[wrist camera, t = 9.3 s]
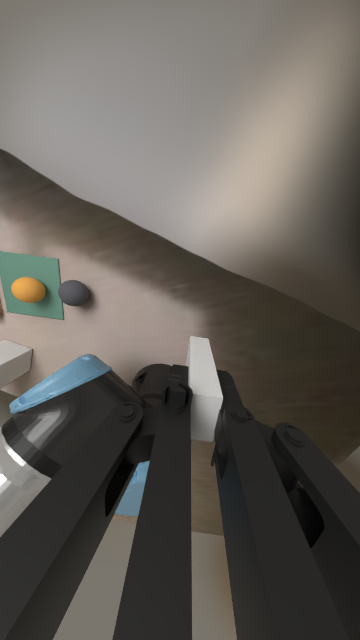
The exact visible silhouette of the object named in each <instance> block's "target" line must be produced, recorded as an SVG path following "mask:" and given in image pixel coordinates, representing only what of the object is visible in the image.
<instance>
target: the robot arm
mask: <svg viewBox="0 0 360 640" xmlns="http://www.w3.org/2000/svg"><path fill="white" fill-rule="evenodd" d="M9 407H10V409H11V411H10V412H11V413H13V414H15V415H14V416H13V417H12V418H11V419H9V420H8V421H7V422H6V423H5V424H3V425H2V426H1V427H0V640H52V639H53V638H54V636H55V634H56V632H57V629H58V627H59V625H60V623H61V621H62V619H63V617H64V615H65V613H66V611H67V609H68V607H69V605H70V603H71V601H72V599H73V597H74V595H75V593H76V591H77V589H78V586H79V585H80V583H81V581H82V579H83V576H84V574H85V572H86V570H87V568H88V566H89V564H90V562H91V560H92V558H93V556H94V554H95V552H96V550H97V548H98V546H99V544H100V542H101V540H102V538H103V536H104V534H105V531H106V530H107V528H108V525H109V523H110V521H111V519H112V517H113V515H114V513H115V514H119V515H126V516H138V520H137V524H136V530H135V534H134V539H133V544H132V549H131V554H130V558H129V563H128V568H127V573H126V577H125V582H124V587H123V592H122V597H121V602H120V606H119V611H118V616H117V621H116V626H115V630H114V635H113V640H192V585H191V584H192V574H191V439H194V440H201V441H208V442H213V438H214V435H215V442H216V445H215V449H214V453H213V456H212V460H211V466H214V462H215V466H216V474H217V482H218V490H219V498H220V506H221V514H222V522H223V530H224V538H225V546H226V554H227V562H228V570H229V578H230V586H231V594H232V602H233V610H234V617H235V626H236V633H237V640H360V493H359V492H358V491H357V490H356V489H355V488H354V486H352V484H351V483H350V482H349V481H348V480H347V479H346V478H345V477H344V476H343V474H342V473H341V472H340V471H339V470H338V469H337V468H336V467H335V466H334V465H333V463H332V462H331V461H330V460H329V459H328V458H327V457H326V456H325V455H324V454H323V453H322V451H321V450H320V449H319V448H318V447H317V446H316V445H315V444H314V443H313V442H312V441H311V439H310V438H309V437H308V436H307V435H306V434H305V433H304V432H302V431H301V430H300V429H298V428H297V427H295V426H293V425H291V424H288V423H282V422H281V423H278V424H277V425H276V427H275V429H274V428H272V427H270V426H267V425H265V424H262V423H260V422H258V421H256V420H255V418H254V416H253V415H252V413H251V412H250V411H249V410H248V409H247V408H245V407H244V406H243V404H242V401H241V399H240V396H239V393H238V391H237V389H236V386H235V384H234V380H233V378H232V376H231V375H230V374H229V373H228V372H227V371H222V370H216V368H215V364H214V360H213V356H212V352H211V348H210V344H209V340H208V338H200V337H193V336H190V340H189V347H188V353H187V360H186V366H181V365H173V366H169V365H165V364H153V365H149V366H147V367H145V368H143V369H142V370H140V371H139V372H138V374H137V375H136V377H135V379H134V381H133V383H132V387H130V386H129V385H128V384H126V383H125V382H124V381H123V380H122V379H121V378H120V377H119V376H118V375H117V374H116V373H115V372H114V371H113V370H112V367H109V366H107V365H106V364H105V363H104V362H103V361H101V360H100V359H99V358H98V357H97V356H95V355H91V354H87V355H83V356H81V357H79V358H77V359H76V360H74V361H72V362H71V363H69V364H67V365H66V366H64V367H63V368H61V369H60V370H58V371H56V372H55V373H53V374H52V375H50V376H49V377H47V378H46V379H44V380H43V381H41V382H40V383H38V384H37V385H35V386H34V387H32V388H31V389H30V390H28V391H27V392H26V393H24V394H23V395H22V396H20V397H19V398H17V399H16V400H14V401H13V402H12V403H11V404H10V405H9ZM298 480H299V482H300V483H301V485H302V486H303V488H302V487H301V485H300V484H299V483H298Z"/></svg>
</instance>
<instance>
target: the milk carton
mask: <svg viewBox="0 0 360 640" xmlns="http://www.w3.org/2000/svg"><path fill="white" fill-rule="evenodd" d="M31 357H32V349H31V348H28V347H25V346H23V345H20V344H17V343H14V342H11V341H9V340H3V341H1V342H0V389H1V388H2V387H4V386H6V385H7V384H9V383H10V382H12V381H13V380H15V379H17V378H18V377H20V376H21V375H23V374H25V373H26V372H28V371H29V370H30V366H31Z"/></svg>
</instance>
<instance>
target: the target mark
mask: <svg viewBox="0 0 360 640" xmlns="http://www.w3.org/2000/svg"><path fill="white" fill-rule="evenodd" d="M0 277H1V282H2V287H3V292H4V297H5V302H6V307H7V312H12V313H19V314H26V315H33V316H41V317H48V318H55V319H62V320H64V314H63V303H62V300H61V299H60V297H59V295H58V289H59V287H60V285H61V282H60V271H59V261H58V259H55V258H47V257H40V256H32V255H25V254H17V253H9V252H2V251H0ZM22 277H31V278H34V279H37V280H39V281H40V282H41V283H42V284H43V285H44V287H45V290H46V293H45V296H44V298H43V299H41V300H40V301H38V302H35V303H26V302H23V301H20V300H18V299H17V298H16V297H15V296H14V295H13V293H12V291H11V286H12V284H13V282H14V281H15V280H17V279H19V278H22Z"/></svg>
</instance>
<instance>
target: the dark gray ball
mask: <svg viewBox="0 0 360 640" xmlns="http://www.w3.org/2000/svg"><path fill="white" fill-rule="evenodd" d="M58 295H59V297H60V299H61V300H62V301H63V302H64V303H65V304H67V305H70V306H79V305H82V304H83V303H85V302H86V301H87V299H88V296H89V292H88V289H87V287H86V286H85V285H84V284H83V283H81V282H79V281H76V280H68V281H65V282H63V283H62V284H61V285H60V287H59V289H58Z"/></svg>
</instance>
